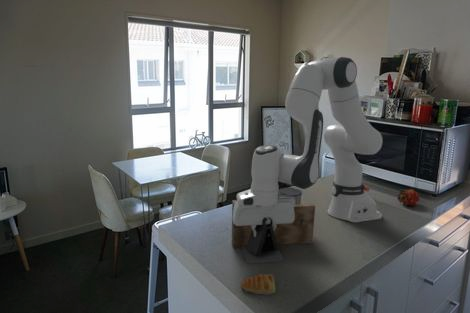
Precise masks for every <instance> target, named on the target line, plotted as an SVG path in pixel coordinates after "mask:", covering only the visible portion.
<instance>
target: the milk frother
mask: <svg viewBox="0 0 470 313" xmlns="http://www.w3.org/2000/svg"><path fill="white" fill-rule="evenodd" d="M302 194H303V191H302V189H301V190H300V188H294V187H281V188H280V189H279V191H278V196H287V195H291V196H292V197H294V198H295V204H302Z"/></svg>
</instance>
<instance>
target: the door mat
mask: <svg viewBox="0 0 470 313" xmlns="http://www.w3.org/2000/svg"><path fill="white" fill-rule="evenodd" d="M241 250H242V253H243V254H244V258H245V260H246V263H247V264H262V263H265V264H266V263H278V262H285V259H284V257H283V256H282V254H281V252H280V251H279V250H280V249H279V250H277V251H273V252H269V253H268V252H267V253H265V254H262V255H258V256H256V255H255V254H254V253H253V252H251V251H250V250H249V249H248V248H247V246H242V248H241Z"/></svg>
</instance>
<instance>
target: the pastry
mask: <svg viewBox="0 0 470 313" xmlns="http://www.w3.org/2000/svg"><path fill="white" fill-rule="evenodd" d="M240 284H241V288H242V290H243V291H244V292H246V293H252V294H255V295H273V294H275V293H276V284H275V276H274V275H273V274H272V273H271V274H261V273H259V274H257V275H253V276H249V277H247V278H244V279H243V280H242V281H241V283H240Z"/></svg>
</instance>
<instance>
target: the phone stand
mask: <svg viewBox="0 0 470 313" xmlns="http://www.w3.org/2000/svg"><path fill="white" fill-rule="evenodd" d="M268 218H269V217H268ZM269 219H270V220H271V223H270V224H267V225H266V221H267V220H268V219H267V218H266V217H265V218H264V219H263V220H262V225H256V228H255V230H256V232H257V235H256V237H254V231H253V230H252V232H251V235H250V238H249V241H248V244H247V248H248V249H249V250H250V251H251V252H253V253H254V254H255V255H256V256H258V255H262V254H265V253H267V252H268V253H269V252H273V251H277V250H280V248H279V244H277V240H276V237H275V234H274V231H273V227H272V223H273V220H272V219H271V218H269ZM268 233H269V236H268ZM264 241H265V242H264Z"/></svg>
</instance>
